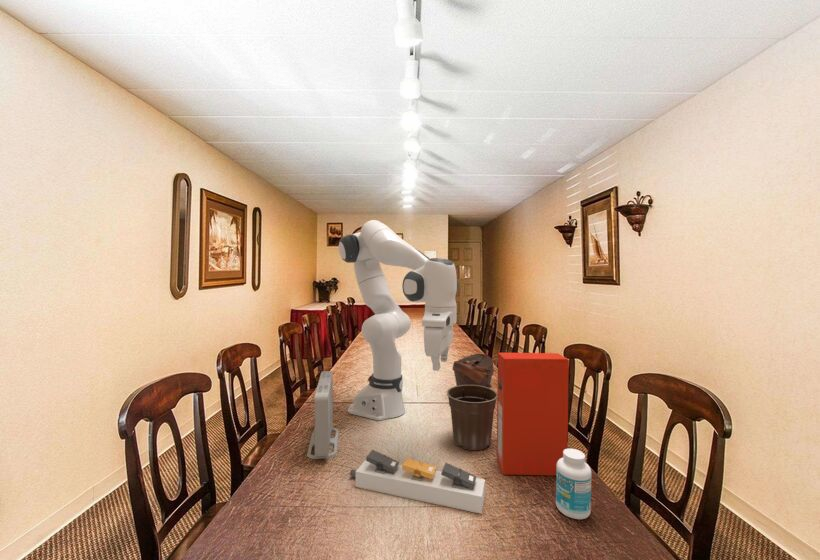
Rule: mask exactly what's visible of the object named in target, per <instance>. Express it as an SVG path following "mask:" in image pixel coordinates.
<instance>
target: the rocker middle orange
mask: <svg viewBox="0 0 820 560" xmlns="http://www.w3.org/2000/svg"><path fill="white" fill-rule="evenodd" d="M402 464H403V465H402V470H405V471H408V472H411V473H413V474H414V476H416V477H420V476H424V477H427V478H430V479H433V477H434V475H435V473H436V471H437V466H436V465H432V464H428V463H425V462H424V461H419V460H416V459H413V458H409V457H406V459H405V460H404V462H403V463H402Z"/></svg>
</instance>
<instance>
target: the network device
mask: <svg viewBox="0 0 820 560" xmlns="http://www.w3.org/2000/svg"><path fill="white" fill-rule="evenodd" d="M333 374H334V373H333V370H329V371H328V370H327V371H325V370H323V371H321V373H320V376H319V380H318V383H317V385H316V390H315V394H314V430H313V431H312V433H311V437H310V441H309V445H308V450H307V453H306V454H307V457H308V458H309V459H312V460H319V459H330V458H333V457H335V456H336V455H338V454H337V453H338V447H339V446H338V445H339V433H340V432H339V430H340V429H338V428H335V427H333V419H334V415H333V414H334V413H333V411H334V404H333V401H334V397H333V396H334V394H333V393H334V391H333V390H334V388H333V387H334V386H333V385H334V379H333V378H334V375H333ZM332 432H335V435H334V437H332ZM330 446H333V452H331V453H330ZM313 448H314V454H312V451H313Z"/></svg>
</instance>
